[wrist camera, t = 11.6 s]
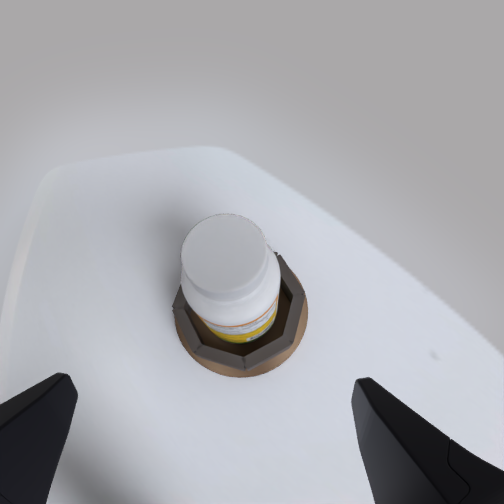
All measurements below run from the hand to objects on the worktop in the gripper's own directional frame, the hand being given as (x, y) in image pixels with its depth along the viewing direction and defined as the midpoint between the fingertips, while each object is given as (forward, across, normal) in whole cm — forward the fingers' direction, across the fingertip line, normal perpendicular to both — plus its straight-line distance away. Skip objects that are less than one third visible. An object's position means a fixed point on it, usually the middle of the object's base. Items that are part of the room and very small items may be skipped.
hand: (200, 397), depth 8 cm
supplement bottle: (+14, 0, +5) cm, 15 cm away
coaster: (+14, 0, +5) cm, 15 cm away
